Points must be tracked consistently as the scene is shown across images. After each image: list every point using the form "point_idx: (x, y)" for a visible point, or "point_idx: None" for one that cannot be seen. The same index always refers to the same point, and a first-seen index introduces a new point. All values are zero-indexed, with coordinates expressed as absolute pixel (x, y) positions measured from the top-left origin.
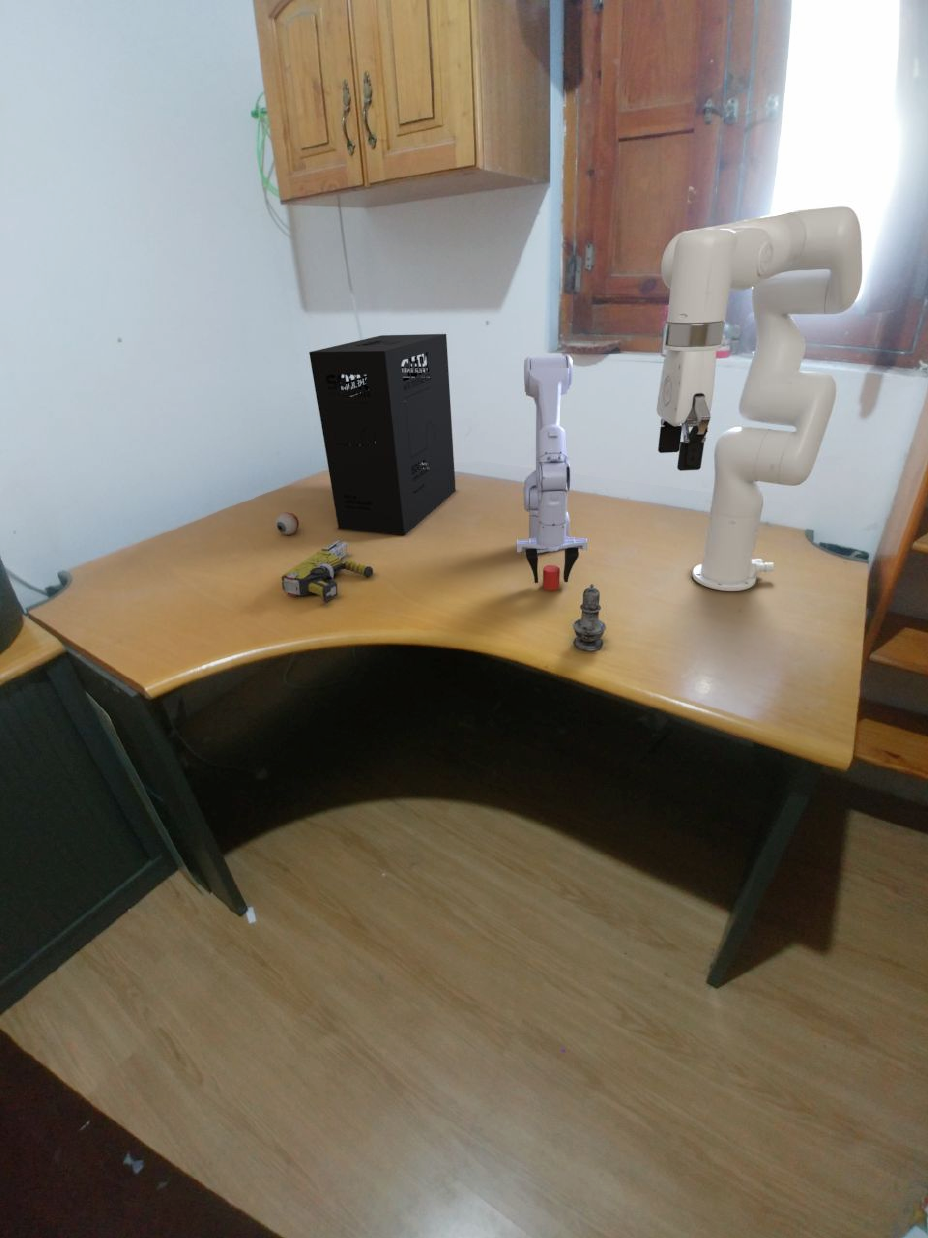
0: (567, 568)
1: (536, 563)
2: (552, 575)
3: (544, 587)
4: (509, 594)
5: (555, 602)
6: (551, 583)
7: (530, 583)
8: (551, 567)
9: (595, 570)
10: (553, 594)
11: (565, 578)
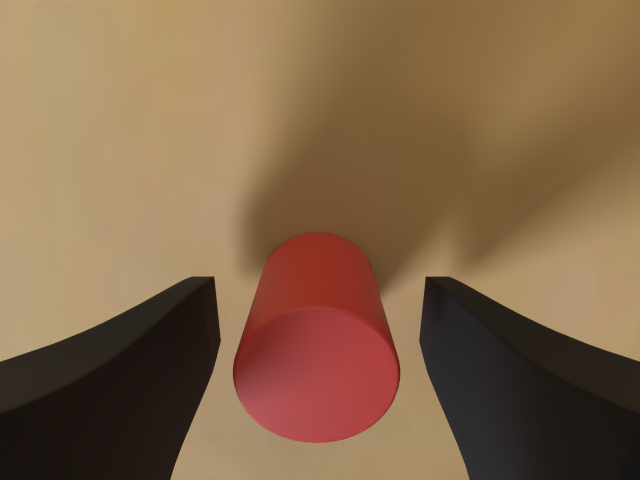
0: (134, 330)
1: (559, 368)
2: (312, 287)
3: (368, 261)
4: (635, 188)
5: (303, 29)
6: (320, 252)
7: None
8: (314, 399)
9: None
10: (309, 171)
11: (195, 284)
